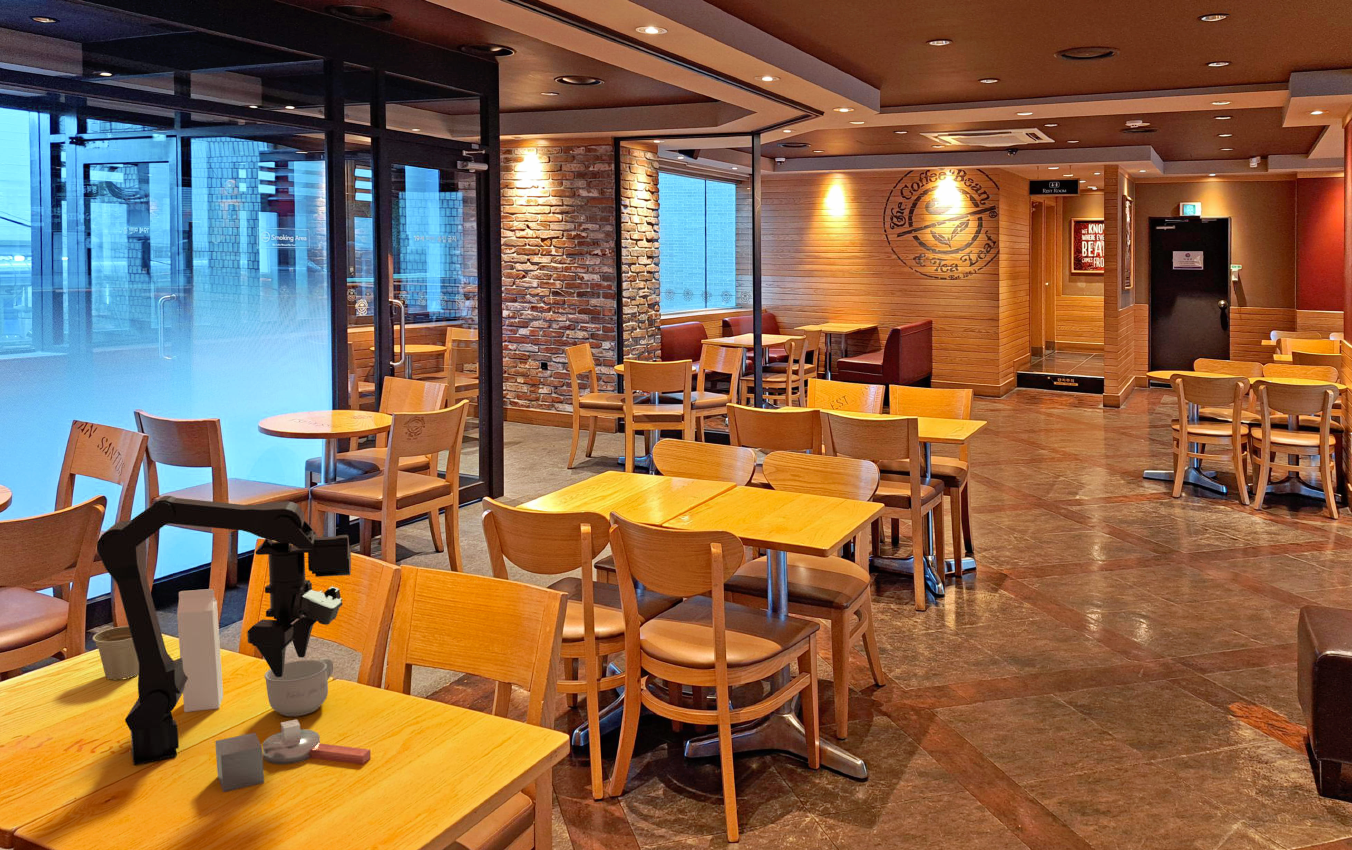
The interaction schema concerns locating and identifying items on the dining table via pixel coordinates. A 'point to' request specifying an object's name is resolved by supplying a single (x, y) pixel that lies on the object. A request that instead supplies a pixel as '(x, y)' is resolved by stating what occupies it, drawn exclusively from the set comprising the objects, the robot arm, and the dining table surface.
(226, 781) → the matte grey cube
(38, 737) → the dining table surface
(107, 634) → the flower pot
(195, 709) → the milk
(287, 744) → the pan with red handle
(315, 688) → the teacup
